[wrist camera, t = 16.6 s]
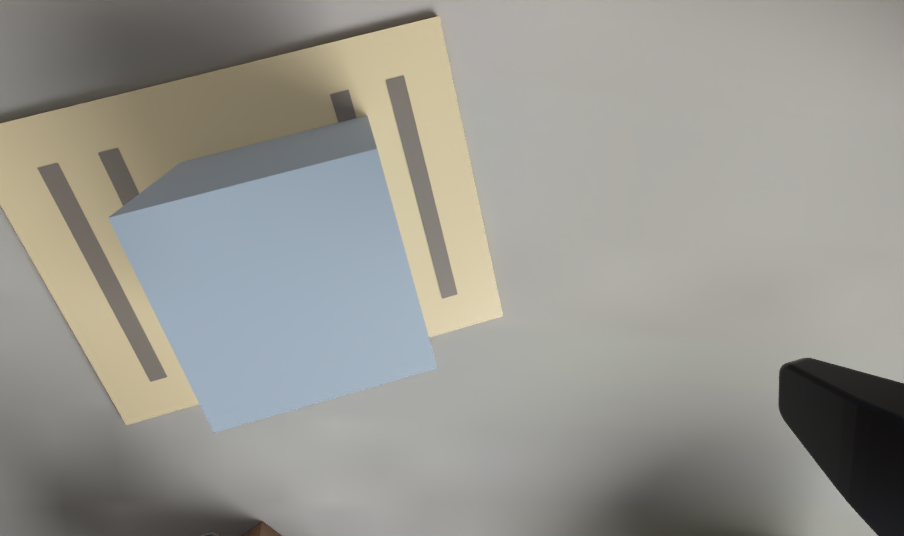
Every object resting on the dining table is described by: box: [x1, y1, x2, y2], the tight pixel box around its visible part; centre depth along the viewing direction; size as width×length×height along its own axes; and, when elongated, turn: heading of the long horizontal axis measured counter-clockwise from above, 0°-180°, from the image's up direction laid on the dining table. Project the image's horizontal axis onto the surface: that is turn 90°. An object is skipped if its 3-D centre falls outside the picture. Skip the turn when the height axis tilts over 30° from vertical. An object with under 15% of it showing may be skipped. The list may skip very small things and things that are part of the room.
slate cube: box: [108, 116, 437, 433], centre depth 14 cm, size 5×5×5 cm
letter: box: [0, 16, 503, 425], centre depth 16 cm, size 12×9×1 cm
